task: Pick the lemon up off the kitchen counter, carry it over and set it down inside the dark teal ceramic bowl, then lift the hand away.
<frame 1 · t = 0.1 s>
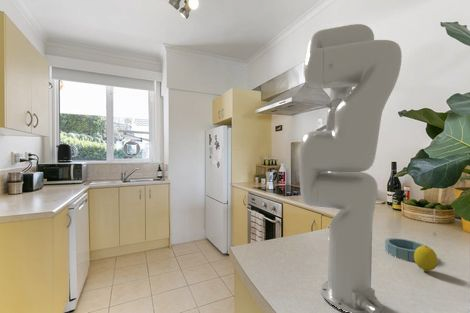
hand: (340, 151, 86), 37 cm above the countertop, tool pointing down, fingers open, 9 cm apart
bowl: (405, 253, 81), on the countertop
lemon: (425, 271, 69), on the countertop
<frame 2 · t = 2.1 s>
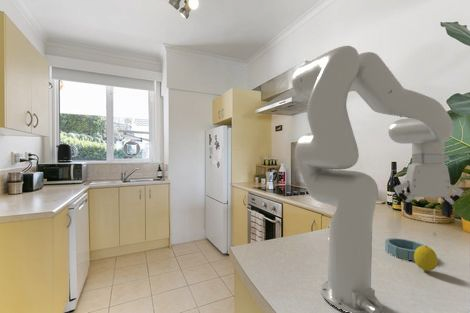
hand: (427, 215, 69), 17 cm above the countertop, tool pointing down, fingers open, 9 cm apart
nothing on the countertop moved.
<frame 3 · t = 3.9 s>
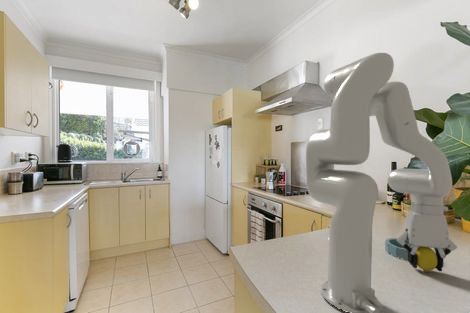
hand: (425, 266, 69), 1 cm above the countertop, tool pointing down, fingers closed on lemon, 5 cm apart
lemon: (425, 271, 69), on the countertop, touching gripper
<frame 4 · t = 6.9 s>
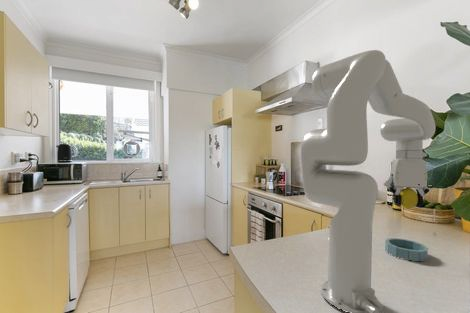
hand: (407, 205, 80), 18 cm above the countertop, tool pointing down, fingers closed on lemon, 5 cm apart
lemon: (407, 209, 80), point 16 cm above the countertop, touching gripper
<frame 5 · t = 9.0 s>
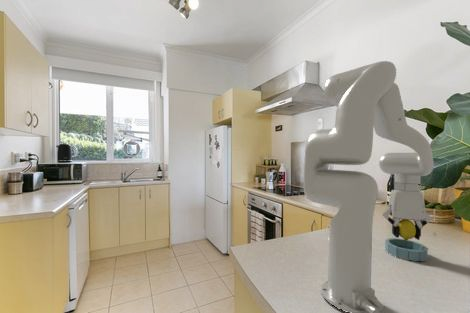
hand: (406, 236, 81), 6 cm above the countertop, tool pointing down, fingers closed on lemon, 5 cm apart
lemon: (405, 240, 81), point 5 cm above the countertop, touching gripper
when the fingers open (4 cm above the countertop, at t = 9.9 s): lemon drops 2 cm, resting on bowl.
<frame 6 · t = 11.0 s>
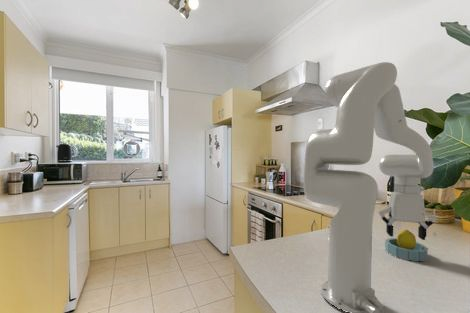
hand: (405, 237, 81), 6 cm above the countertop, tool pointing down, fingers open, 9 cm apart
lemon: (405, 252, 81), point 1 cm above the countertop, touching bowl
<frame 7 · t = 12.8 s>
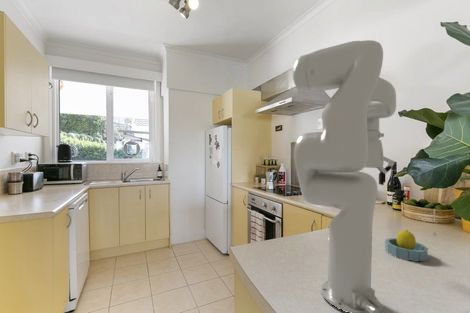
hand: (365, 183, 81), 25 cm above the countertop, tool pointing down, fingers open, 9 cm apart
nothing on the countertop moved.
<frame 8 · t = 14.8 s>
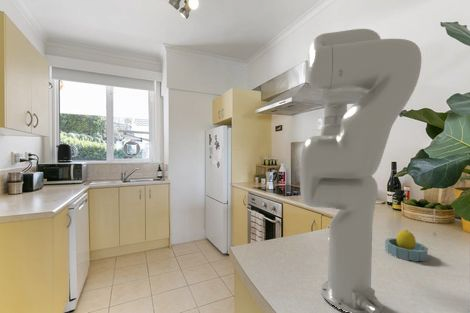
hand: (334, 169, 82), 30 cm above the countertop, tool pointing down, fingers open, 9 cm apart
nothing on the countertop moved.
at the end: lemon 0.1 cm off-centre on the bowl, point 0.6 cm above the bowl's base; the gripper is holding nothing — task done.
